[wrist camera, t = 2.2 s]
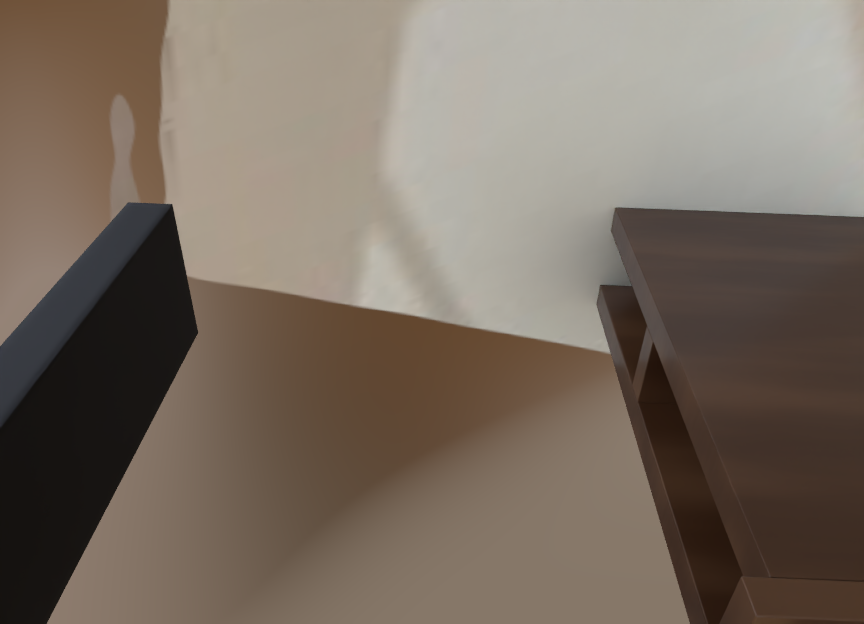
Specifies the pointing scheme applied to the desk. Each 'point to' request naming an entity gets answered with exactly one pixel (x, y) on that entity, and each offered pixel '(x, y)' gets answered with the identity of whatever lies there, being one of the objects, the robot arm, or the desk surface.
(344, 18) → the desk surface
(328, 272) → the desk surface
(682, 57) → the desk surface
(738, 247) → the shelf
